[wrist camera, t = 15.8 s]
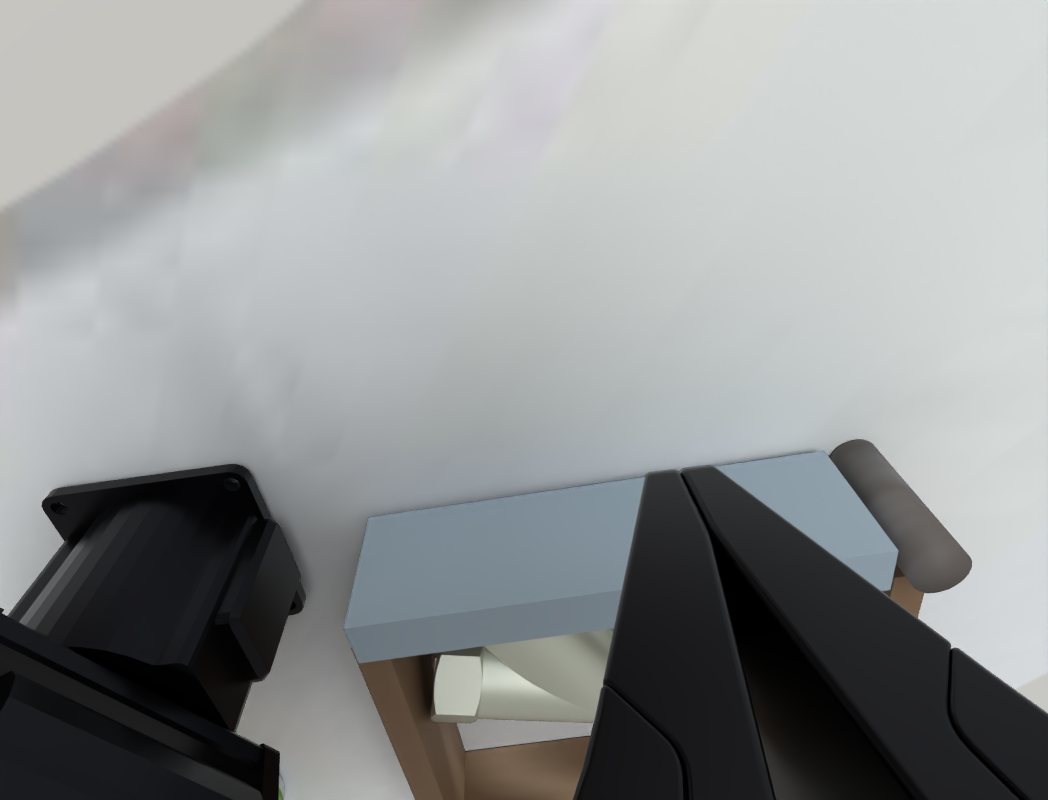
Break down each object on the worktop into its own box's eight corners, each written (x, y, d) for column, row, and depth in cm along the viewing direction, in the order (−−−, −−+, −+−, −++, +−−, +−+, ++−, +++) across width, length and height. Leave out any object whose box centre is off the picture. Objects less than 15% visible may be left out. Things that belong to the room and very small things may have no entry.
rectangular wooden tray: (447, 766, 30) (441, 894, 26) (356, 507, 22) (324, 632, 18) (827, 719, 30) (884, 841, 25) (880, 436, 21) (978, 546, 17)
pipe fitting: (448, 520, 23) (435, 656, 26) (442, 600, 20) (428, 746, 23) (666, 535, 24) (629, 665, 27) (698, 615, 21) (651, 754, 24)
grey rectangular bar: (380, 550, 23) (359, 663, 19) (368, 517, 22) (343, 629, 18) (819, 486, 22) (890, 590, 18) (824, 450, 21) (898, 551, 17)
